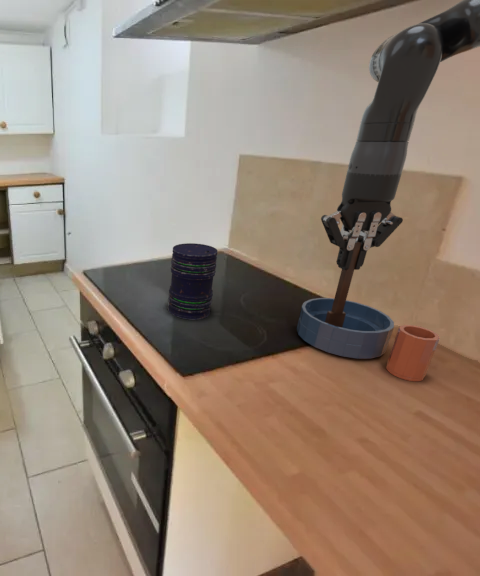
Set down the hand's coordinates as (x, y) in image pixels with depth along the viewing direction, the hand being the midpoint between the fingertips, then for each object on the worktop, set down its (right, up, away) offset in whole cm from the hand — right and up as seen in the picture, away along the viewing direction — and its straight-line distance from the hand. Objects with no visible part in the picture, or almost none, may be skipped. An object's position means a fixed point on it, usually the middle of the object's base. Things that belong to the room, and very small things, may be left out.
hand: (348, 268), depth 70 cm
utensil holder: (+7, -18, -4) cm, 20 cm away
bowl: (+2, -14, +6) cm, 16 cm away
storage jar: (-25, -9, +20) cm, 33 cm away
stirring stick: (0, -12, +5) cm, 13 cm away
